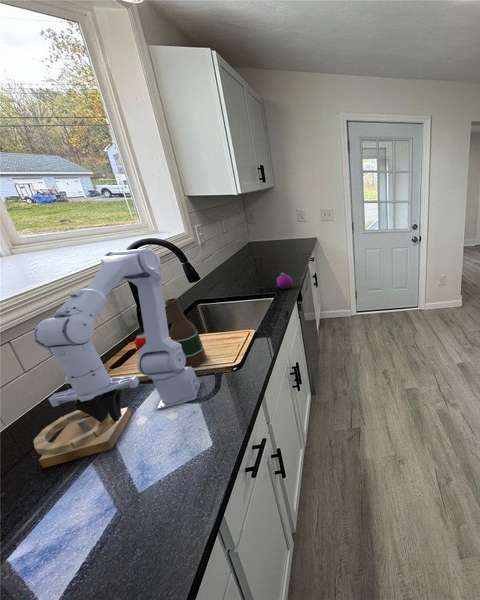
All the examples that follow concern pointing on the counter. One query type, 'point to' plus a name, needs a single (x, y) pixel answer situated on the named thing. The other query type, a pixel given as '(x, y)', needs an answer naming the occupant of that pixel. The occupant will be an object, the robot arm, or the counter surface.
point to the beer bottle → (185, 335)
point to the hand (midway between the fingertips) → (112, 420)
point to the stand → (95, 446)
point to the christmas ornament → (284, 281)
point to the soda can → (141, 341)
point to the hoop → (68, 445)
